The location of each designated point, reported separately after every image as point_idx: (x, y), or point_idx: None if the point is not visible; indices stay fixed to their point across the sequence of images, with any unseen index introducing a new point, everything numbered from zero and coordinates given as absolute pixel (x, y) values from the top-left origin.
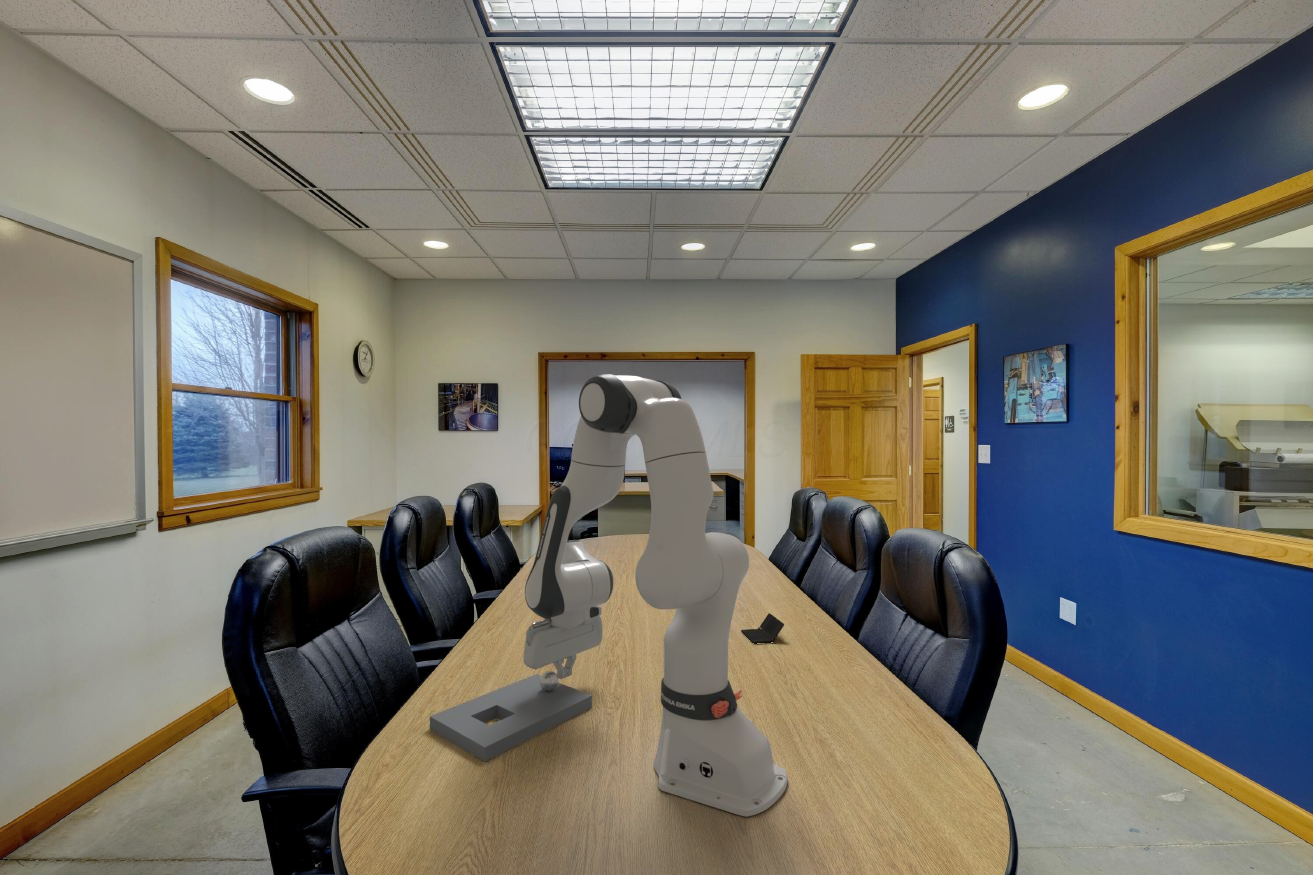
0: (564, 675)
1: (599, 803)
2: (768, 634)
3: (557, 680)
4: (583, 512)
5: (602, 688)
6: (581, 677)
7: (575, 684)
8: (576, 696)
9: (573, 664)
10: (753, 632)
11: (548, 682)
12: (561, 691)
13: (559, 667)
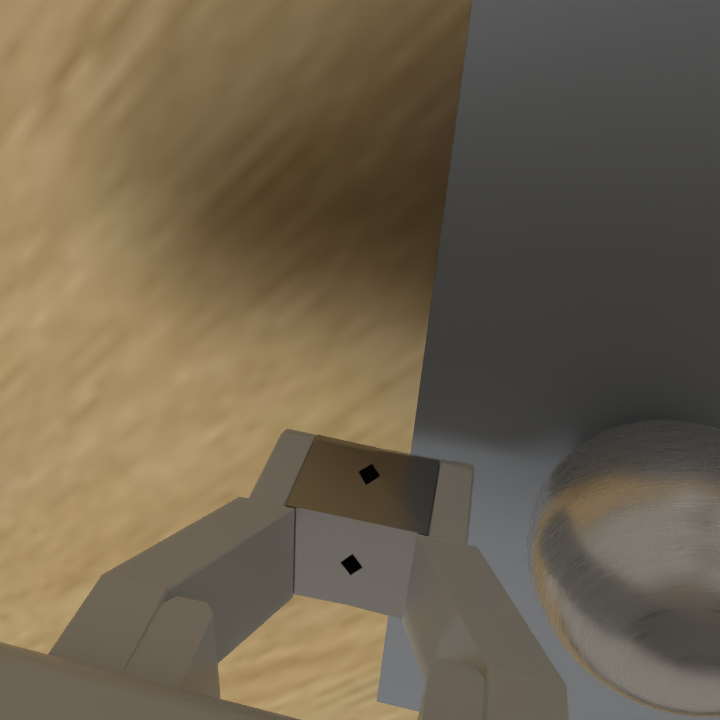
0: (428, 476)
1: None
2: None
3: (652, 468)
4: None
5: (37, 106)
6: (58, 422)
7: (180, 391)
8: (676, 4)
9: (209, 520)
10: None
11: None
12: (606, 326)
13: (521, 634)
